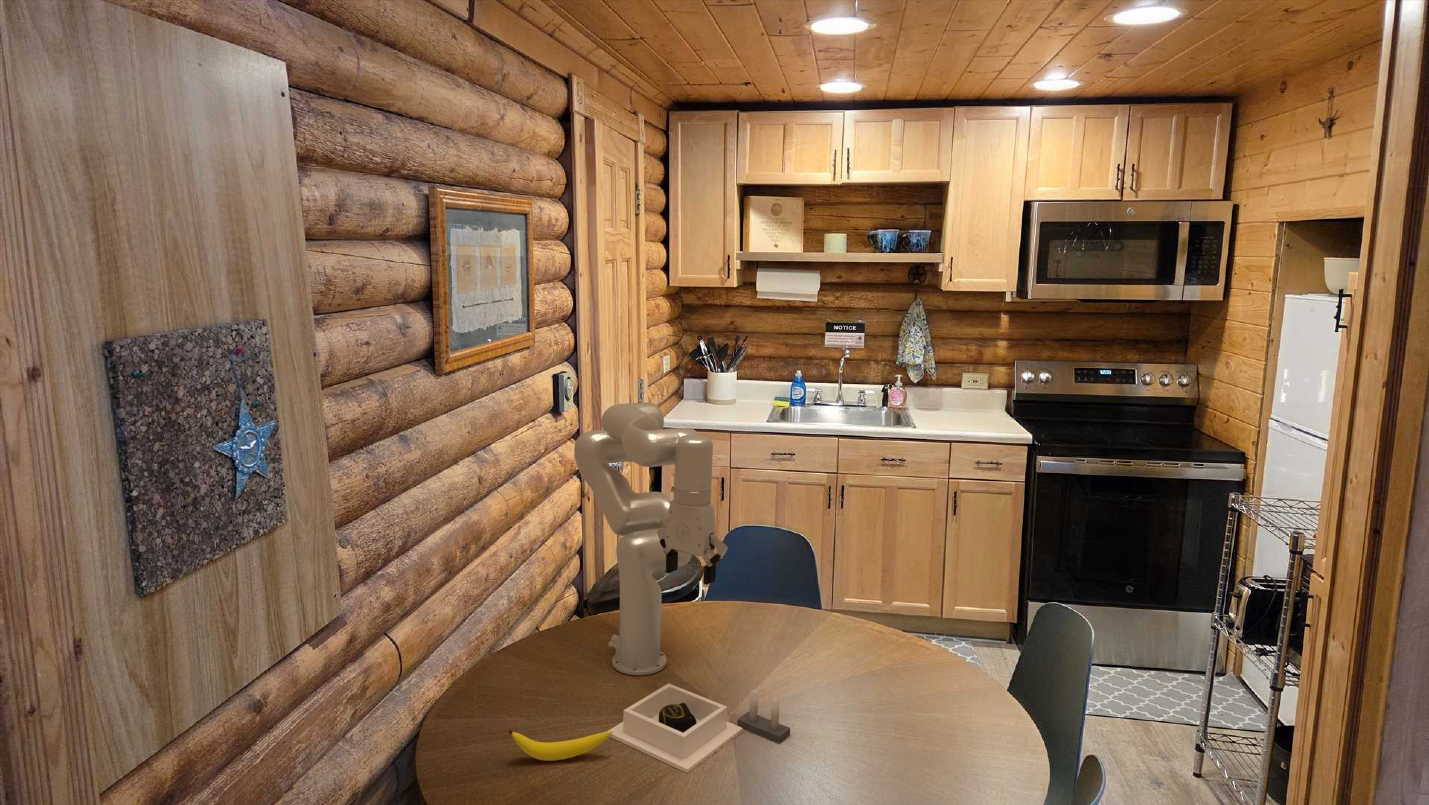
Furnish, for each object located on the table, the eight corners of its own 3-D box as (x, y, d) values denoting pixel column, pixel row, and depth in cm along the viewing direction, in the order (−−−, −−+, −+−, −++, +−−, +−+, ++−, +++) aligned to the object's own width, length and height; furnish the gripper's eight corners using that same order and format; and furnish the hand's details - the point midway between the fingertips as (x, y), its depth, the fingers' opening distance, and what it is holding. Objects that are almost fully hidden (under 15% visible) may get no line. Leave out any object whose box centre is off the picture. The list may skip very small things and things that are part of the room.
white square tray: (606, 735, 165) (607, 710, 164) (664, 699, 179) (665, 676, 178) (687, 773, 153) (688, 746, 152) (742, 731, 168) (743, 707, 167)
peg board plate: (737, 726, 170) (738, 691, 168) (748, 718, 173) (749, 684, 172) (779, 743, 164) (781, 708, 163) (789, 735, 167) (791, 699, 166)
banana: (612, 760, 157) (613, 728, 156) (508, 767, 153) (507, 734, 152) (612, 751, 159) (612, 720, 158) (509, 758, 156) (509, 726, 155)
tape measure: (697, 735, 164) (697, 717, 164) (663, 740, 162) (664, 722, 162) (687, 717, 171) (687, 700, 170) (654, 722, 169) (654, 704, 168)
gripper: (647, 492, 172) (646, 572, 175) (716, 508, 162) (713, 593, 165) (670, 485, 178) (668, 562, 181) (738, 500, 168) (735, 582, 171)
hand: (690, 577), depth 173 cm, fingers open, 9 cm apart
